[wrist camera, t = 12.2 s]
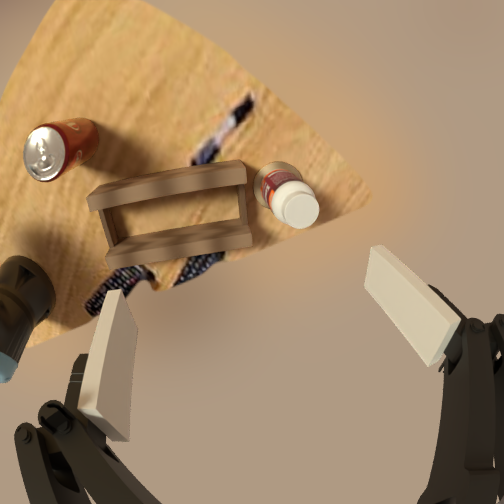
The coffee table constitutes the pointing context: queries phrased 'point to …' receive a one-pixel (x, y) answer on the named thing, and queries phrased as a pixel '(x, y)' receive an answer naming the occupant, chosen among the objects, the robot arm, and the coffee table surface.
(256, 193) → the coaster
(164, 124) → the coffee table surface
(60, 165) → the soda can
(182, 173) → the pocket block
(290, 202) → the pill bottle
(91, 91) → the coffee table surface
